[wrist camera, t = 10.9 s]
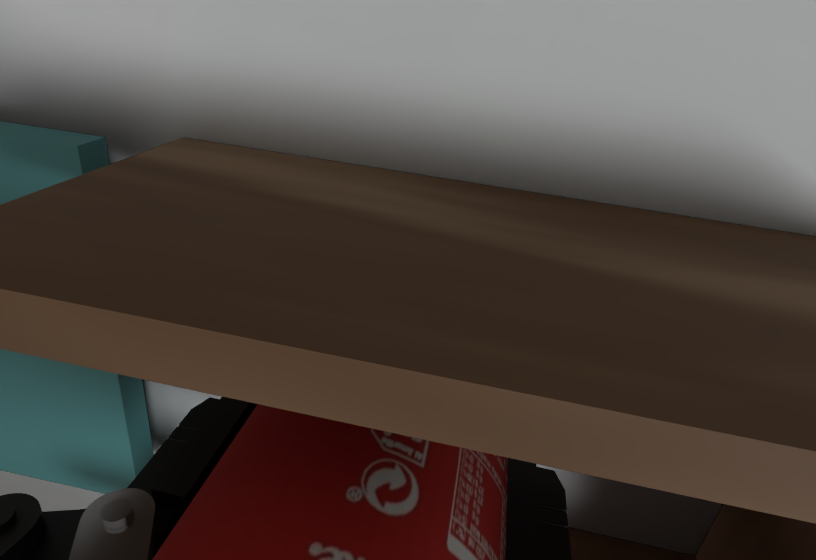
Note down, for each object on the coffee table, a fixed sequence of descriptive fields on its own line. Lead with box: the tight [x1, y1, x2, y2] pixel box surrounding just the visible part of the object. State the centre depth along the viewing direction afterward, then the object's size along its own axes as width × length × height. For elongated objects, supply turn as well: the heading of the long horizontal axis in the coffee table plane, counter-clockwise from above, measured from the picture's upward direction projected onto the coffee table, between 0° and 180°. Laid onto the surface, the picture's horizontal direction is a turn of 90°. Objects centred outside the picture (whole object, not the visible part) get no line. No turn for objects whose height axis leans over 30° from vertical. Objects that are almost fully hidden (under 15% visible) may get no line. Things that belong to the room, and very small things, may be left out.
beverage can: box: [152, 404, 508, 560], centre depth 11 cm, size 6×6×12 cm
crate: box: [0, 138, 816, 560], centre depth 12 cm, size 12×18×8 cm
